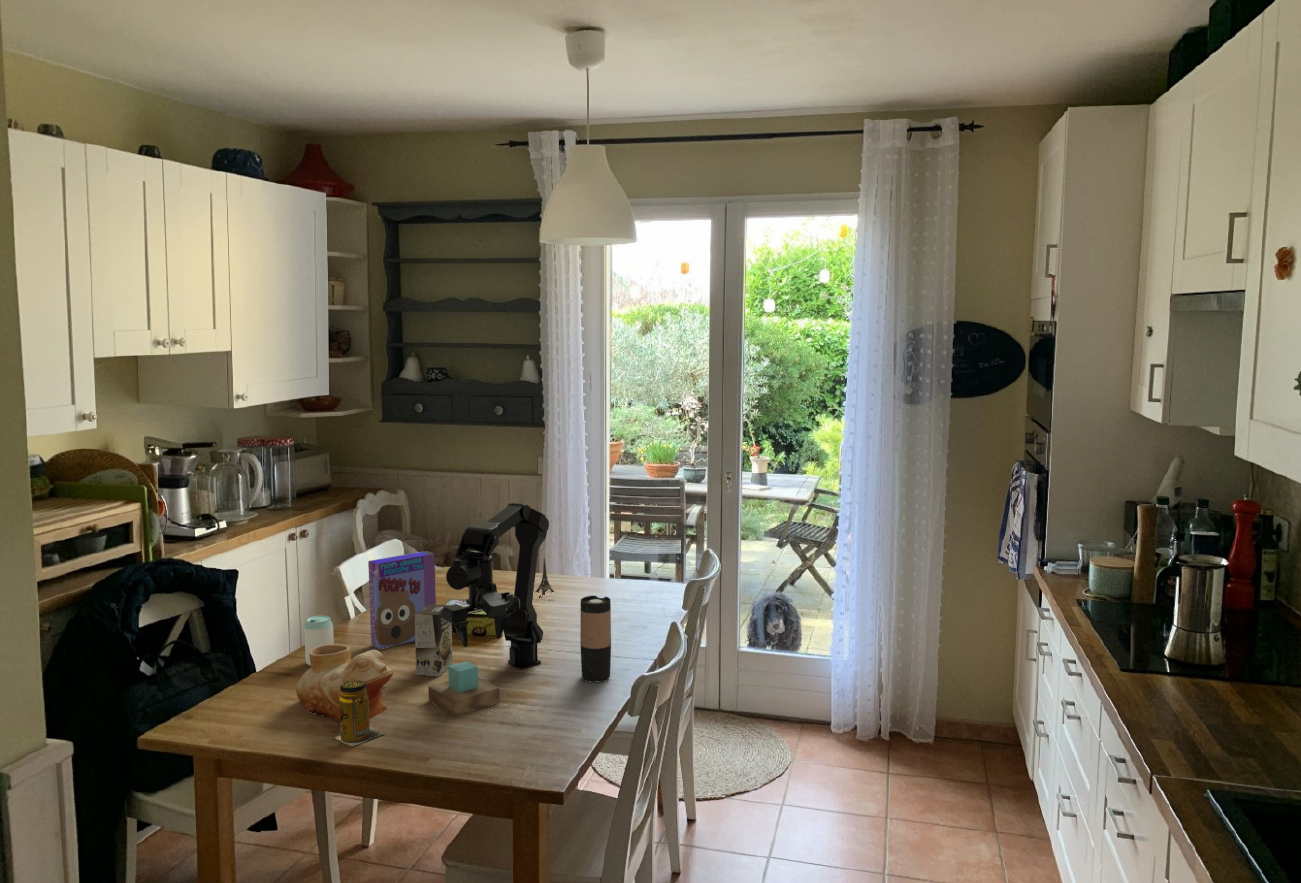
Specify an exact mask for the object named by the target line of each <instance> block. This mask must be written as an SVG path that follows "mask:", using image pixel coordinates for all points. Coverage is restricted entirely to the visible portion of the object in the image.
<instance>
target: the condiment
mask: <svg viewBox="0 0 1301 883" xmlns="http://www.w3.org/2000/svg"><path fill="white" fill-rule="evenodd" d="M340 689H341V693H340V694H341V696H340V698H339V708H340V722H339V730H340V731H339V732H340V734H339V735H337V736H341V743H342V744H345V745H348V746H350V747H355V746H357V745H360V744H363V743H365V742H368V741H370V740H372V739H375V738H378V737H380V736H382V735H385V734H386V732H383V731H380V730H377V729H376V728H374V727H372V726H371V725H370V719H369V699H368V694H367V693H366V691H367V690H366V683H365V682H364V681H361V680H352V681H347V682H345V683H343V684H342V685H341V687H340ZM338 740H339V739H338ZM338 740H337V741H338ZM342 741H343V742H342Z"/></svg>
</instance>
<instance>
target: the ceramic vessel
mask: <svg viewBox="0 0 1301 883" xmlns="http://www.w3.org/2000/svg"><path fill="white" fill-rule="evenodd" d="M351 652H352V651H351V647H350V646H348V645H346V644H343V643H342V644H341V643H334V644H327V645H321V646H318V647H315V648H313V649H311V650H310V653H309V657H310V663H311V666H310V668H308V669H307V670H306V671H305V672H304V673H303V674H302V675H301V677H300V679H299V680H298V681H297V684H296V686H295V692H296V696H297V698H298V699H299V701H300V703H301V704H302V706H303V708H304V709H306V710H308V711H309V712H312V713H316V714H315V715H317V714H318V716H319V715H323V716H322V717H325V718H328V717H330V718H329V719H332V720H334V721H337V722H339V723H340V708H339V698H340V696H341V694H340V693H341V689H340V687H341V685H342V684H343V683H345V682H347V681H352V680H361V681H364V682H365V683H366V690H367V691H366V693H367V694H368V699H369V720H370V719H372V718H374V717H376V716H378V715H379V714H381V713H383V712H385V711H386V710H387V709H388V706H387V705H386V703H385V702H384V699H383V687H384V686H385V685H387V683H388V682H389V681H390V680H391V679H392V677H393V675H394V670H393V669H392V668H390V667H388V666H387V665H386V664H385V657H384V655H383V654H382V653H381V652H380V650H378V649H377V650H376V649H370V650H367V651H365V652H362V653H359V654H357V655H355V656H354V657H353V658H352V653H351ZM306 710H305V711H306ZM384 710H385V711H384ZM308 711H307V712H308ZM382 711H383V712H382ZM309 712H308V713H309ZM312 713H311V714H312Z"/></svg>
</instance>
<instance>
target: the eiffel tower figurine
mask: <svg viewBox="0 0 1301 883" xmlns="http://www.w3.org/2000/svg"><path fill="white" fill-rule="evenodd" d="M543 557H544V558H543V559H542V560H543V567H542V568H543V570H542V578H541V581H540V584H539V585H538V589H536V590H535V592H538V593H539V592H540V591H541V592H542V595H545V592H546V591H549V592H555V590H554V589H553V588H552V585H551V584H550V583H549V579H548V576H547V575H548V574H547V566H546V564H547V563H546V558H545V555H544V556H543Z"/></svg>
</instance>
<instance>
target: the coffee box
mask: <svg viewBox="0 0 1301 883" xmlns="http://www.w3.org/2000/svg"><path fill="white" fill-rule="evenodd" d="M450 605H451V604H436V605H432V604H429V605H427V606H426V607H424V608H423V609H421V610H420V611H418V612H417V613H415V642H414V643H415V645H414V647H415V675H416V676H423V675H425V676H426V677H434V676H435V677H436V678H438V677H439V676H441V675H442V674H443V673H444V672H446V671H447V670H448V666H450V665H453V638H452V635H453V634H452V632H453V631H452V623H451V622H448V621H447V620H444V619H442V618H441V611H442V609H443V608H444V607H445V606H450Z"/></svg>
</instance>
